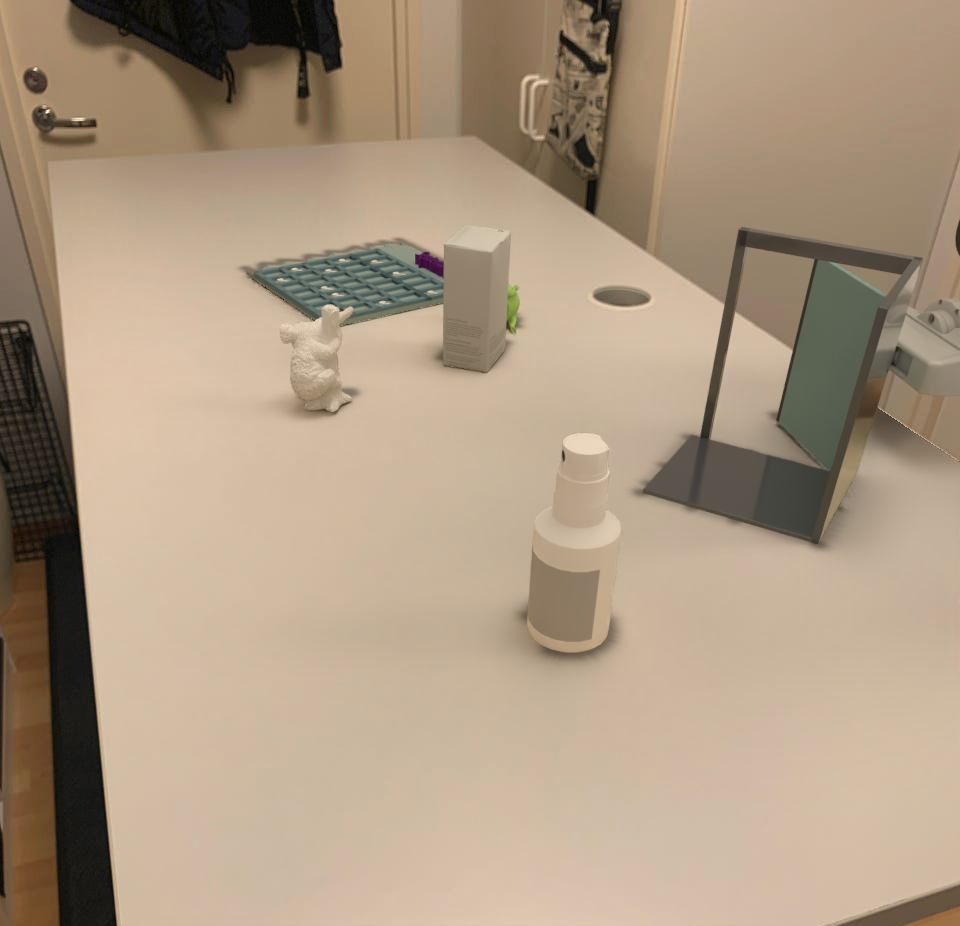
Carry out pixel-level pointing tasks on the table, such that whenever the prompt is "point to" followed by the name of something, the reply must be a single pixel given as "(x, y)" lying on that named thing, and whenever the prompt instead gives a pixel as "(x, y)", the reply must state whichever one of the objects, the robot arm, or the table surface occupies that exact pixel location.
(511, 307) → the green animal figurine
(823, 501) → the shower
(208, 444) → the table surface
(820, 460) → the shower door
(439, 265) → the calendar
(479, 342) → the cosmetic box
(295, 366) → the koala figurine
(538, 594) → the spray bottle
